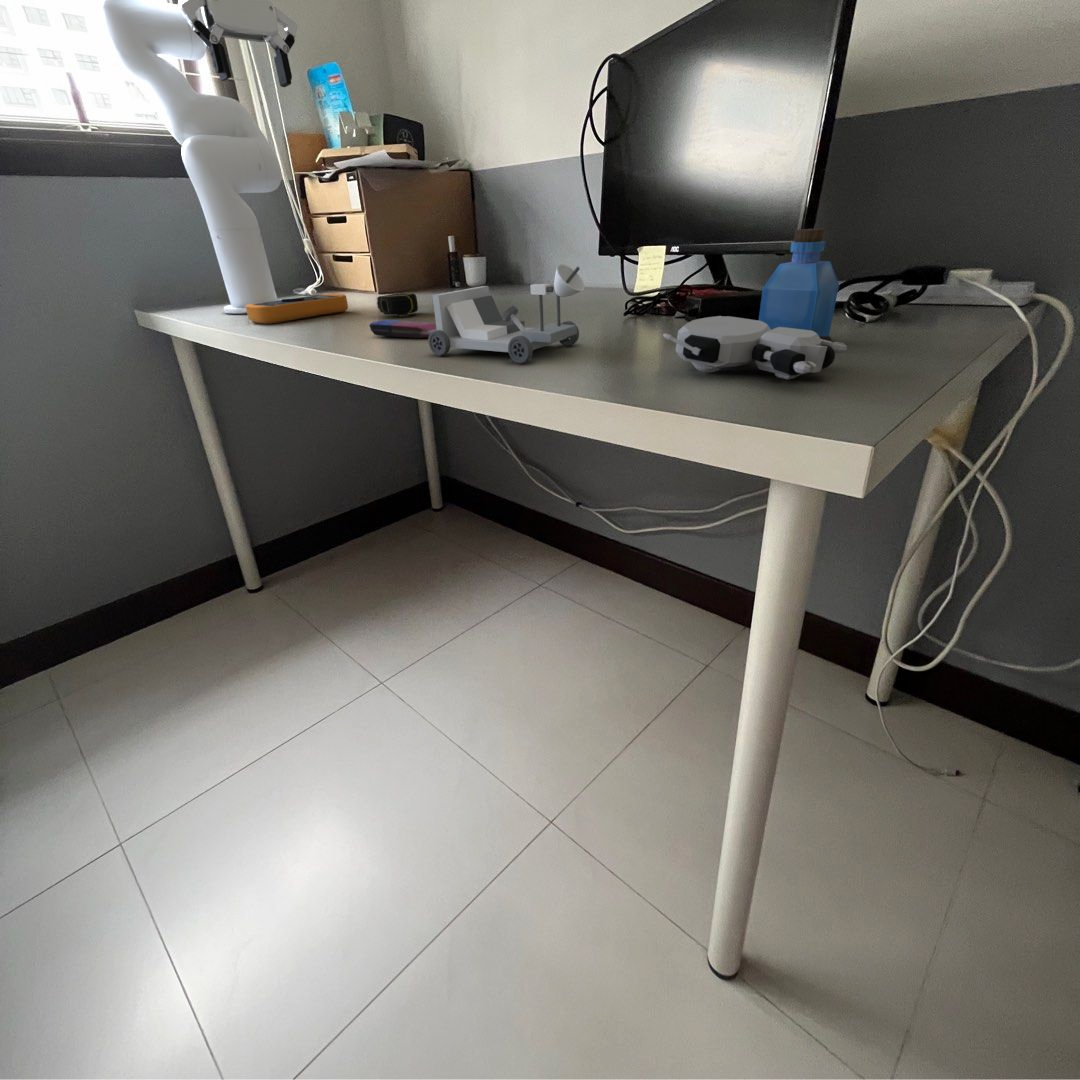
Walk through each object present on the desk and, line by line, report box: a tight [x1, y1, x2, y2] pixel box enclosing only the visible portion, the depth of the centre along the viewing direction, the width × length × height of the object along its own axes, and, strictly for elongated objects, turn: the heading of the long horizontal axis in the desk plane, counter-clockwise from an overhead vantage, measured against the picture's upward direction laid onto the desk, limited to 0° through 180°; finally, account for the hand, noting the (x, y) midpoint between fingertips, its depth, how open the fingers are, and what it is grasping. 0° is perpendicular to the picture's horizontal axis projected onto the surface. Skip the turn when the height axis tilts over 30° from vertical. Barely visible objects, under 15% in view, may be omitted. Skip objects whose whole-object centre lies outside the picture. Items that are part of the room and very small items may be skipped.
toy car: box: [427, 263, 586, 365], centre depth 70 cm, size 18×10×12 cm
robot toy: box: [662, 315, 848, 380], centre depth 56 cm, size 12×4×15 cm
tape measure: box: [376, 292, 419, 318], centre depth 105 cm, size 7×7×4 cm
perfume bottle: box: [758, 228, 840, 336], centre depth 66 cm, size 6×6×12 cm
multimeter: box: [245, 292, 349, 325], centre depth 111 cm, size 9×18×3 cm, turn 141°
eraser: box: [369, 319, 437, 339], centre depth 86 cm, size 11×4×2 cm, turn 66°
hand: (256, 82), depth 92 cm, fingers open, 9 cm apart
